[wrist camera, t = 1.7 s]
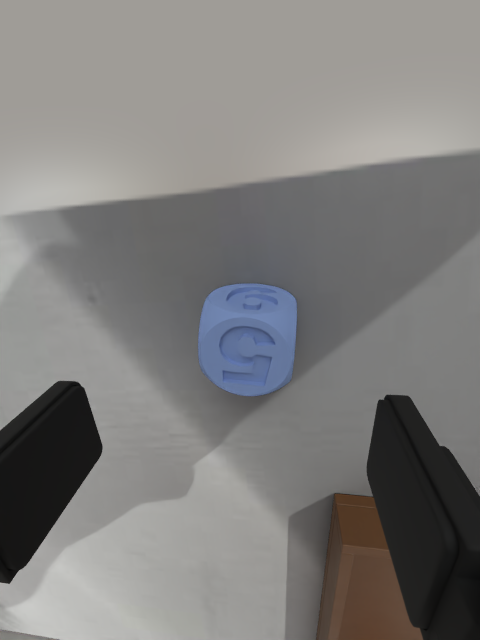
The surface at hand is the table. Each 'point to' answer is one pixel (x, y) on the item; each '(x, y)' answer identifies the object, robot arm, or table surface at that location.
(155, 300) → the table surface
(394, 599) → the tray
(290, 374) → the decorative dice
